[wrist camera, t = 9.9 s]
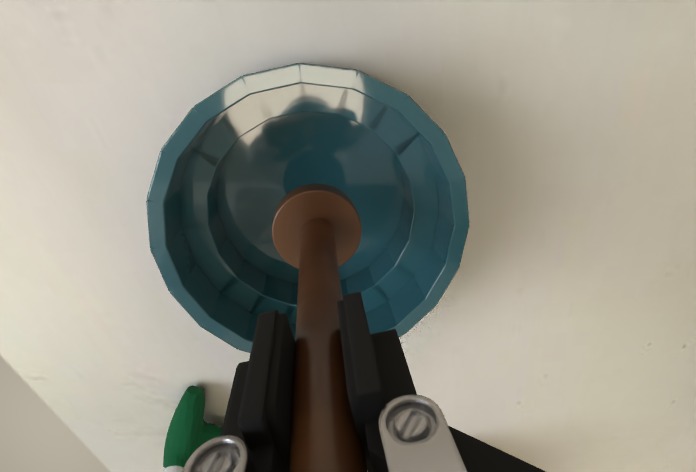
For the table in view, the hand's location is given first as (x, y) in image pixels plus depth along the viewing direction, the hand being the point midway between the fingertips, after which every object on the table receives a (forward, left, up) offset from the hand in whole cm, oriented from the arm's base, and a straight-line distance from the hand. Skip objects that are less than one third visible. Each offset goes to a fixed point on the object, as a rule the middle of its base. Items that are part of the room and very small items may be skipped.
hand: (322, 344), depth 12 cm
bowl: (0, 0, -15) cm, 15 cm away
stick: (0, 0, -10) cm, 10 cm away
